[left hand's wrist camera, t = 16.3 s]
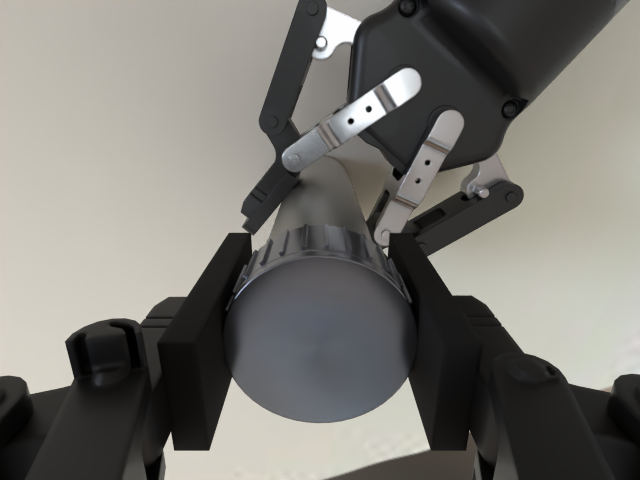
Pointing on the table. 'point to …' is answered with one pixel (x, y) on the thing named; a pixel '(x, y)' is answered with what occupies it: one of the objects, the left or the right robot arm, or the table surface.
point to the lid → (320, 326)
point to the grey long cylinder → (321, 200)
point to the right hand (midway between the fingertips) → (287, 253)
